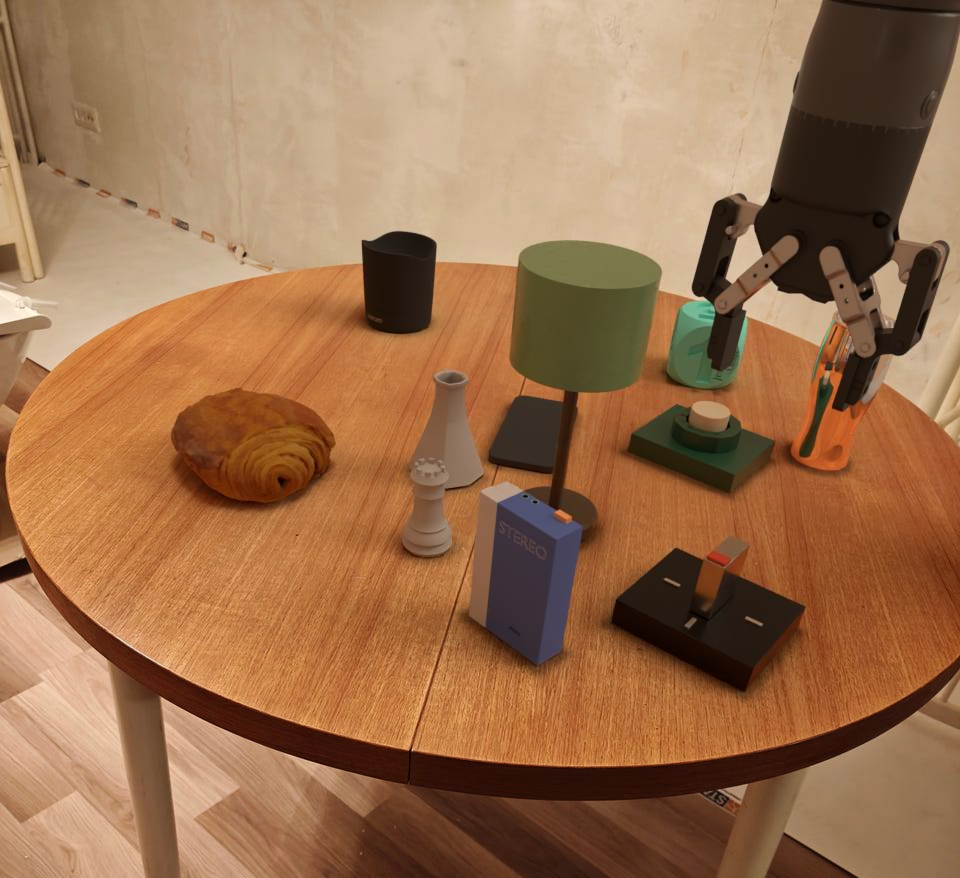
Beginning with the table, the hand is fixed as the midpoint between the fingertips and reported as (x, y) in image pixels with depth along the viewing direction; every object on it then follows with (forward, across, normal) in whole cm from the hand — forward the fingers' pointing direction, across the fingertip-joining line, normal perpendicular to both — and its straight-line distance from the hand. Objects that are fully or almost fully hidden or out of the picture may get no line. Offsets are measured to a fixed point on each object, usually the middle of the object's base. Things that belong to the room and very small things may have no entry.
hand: (779, 386), depth 59 cm
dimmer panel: (+21, 0, 0) cm, 21 cm away
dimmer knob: (+18, 0, 0) cm, 18 cm away
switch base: (+21, +14, -26) cm, 36 cm away
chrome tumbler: (+21, +4, -35) cm, 41 cm away
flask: (+21, +31, -4) cm, 38 cm away
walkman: (+21, +11, +11) cm, 26 cm away
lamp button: (+17, +14, -26) cm, 34 cm away
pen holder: (+21, +61, -30) cm, 71 cm away
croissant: (+21, +45, +8) cm, 50 cm away
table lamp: (+21, +18, -4) cm, 28 cm away
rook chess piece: (+21, +24, +7) cm, 33 cm away
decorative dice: (+21, +24, -45) cm, 55 cm away
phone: (+21, +29, -17) cm, 40 cm away
